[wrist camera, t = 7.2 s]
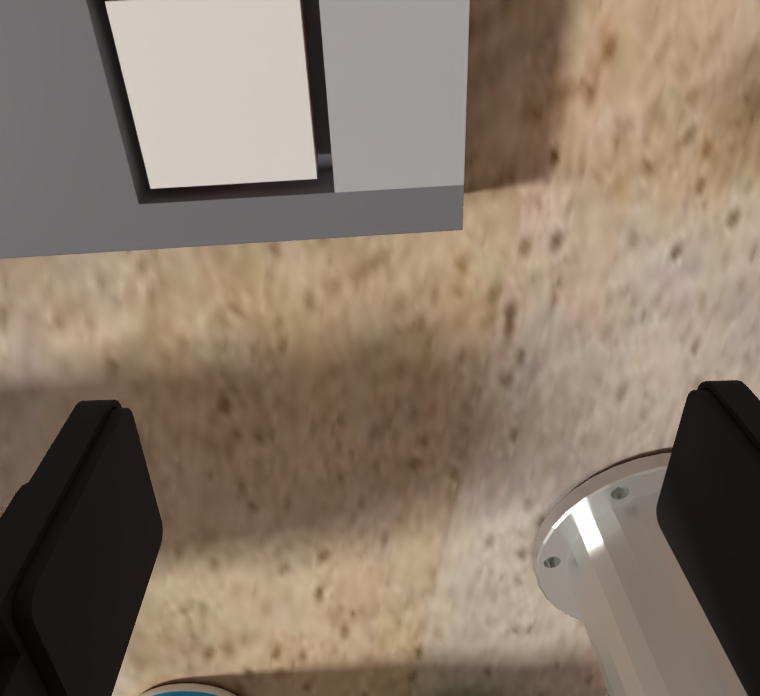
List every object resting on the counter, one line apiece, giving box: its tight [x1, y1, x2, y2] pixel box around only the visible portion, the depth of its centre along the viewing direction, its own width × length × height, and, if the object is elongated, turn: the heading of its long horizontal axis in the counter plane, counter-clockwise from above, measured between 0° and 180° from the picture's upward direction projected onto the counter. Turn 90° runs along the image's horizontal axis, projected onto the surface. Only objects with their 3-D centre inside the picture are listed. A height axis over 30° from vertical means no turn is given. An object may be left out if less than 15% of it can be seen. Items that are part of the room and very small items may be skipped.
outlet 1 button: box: [105, 0, 318, 189], centre depth 19 cm, size 5×5×2 cm
